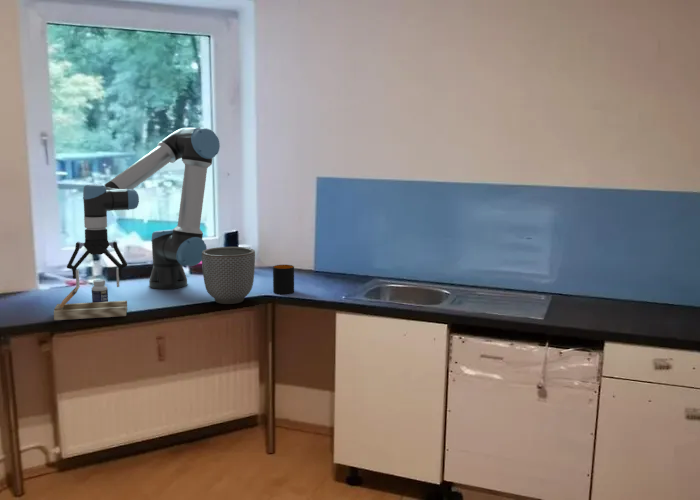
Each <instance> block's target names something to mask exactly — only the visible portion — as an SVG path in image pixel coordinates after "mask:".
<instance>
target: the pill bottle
mask: <svg viewBox="0 0 700 500" xmlns="http://www.w3.org/2000/svg"><path fill="white" fill-rule="evenodd" d="M108 290H109V289H108V286H107V285H106V280H105V279H95V280H93V286H92V287H91V300H92V302H109V297H108V296H109V294H108V293H109V291H108Z"/></svg>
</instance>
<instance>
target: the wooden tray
mask: <svg viewBox="0 0 700 500" xmlns="http://www.w3.org/2000/svg"><path fill="white" fill-rule="evenodd" d="M60 304H61V303H57V304H56V306H55V307H54V309H53V321H62V320H79V319H81V320H83V319H95V318H96V319H97V318H99V319H101V318H111V317H112V318H114V317H115V318H116V317H126V316H127V313H128V300H115V301H114V300H113V301H110V300H108V302H76V303H73V302H72V303H66V304H65V305H64V306H63V307H62V308H61V307H60Z"/></svg>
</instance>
